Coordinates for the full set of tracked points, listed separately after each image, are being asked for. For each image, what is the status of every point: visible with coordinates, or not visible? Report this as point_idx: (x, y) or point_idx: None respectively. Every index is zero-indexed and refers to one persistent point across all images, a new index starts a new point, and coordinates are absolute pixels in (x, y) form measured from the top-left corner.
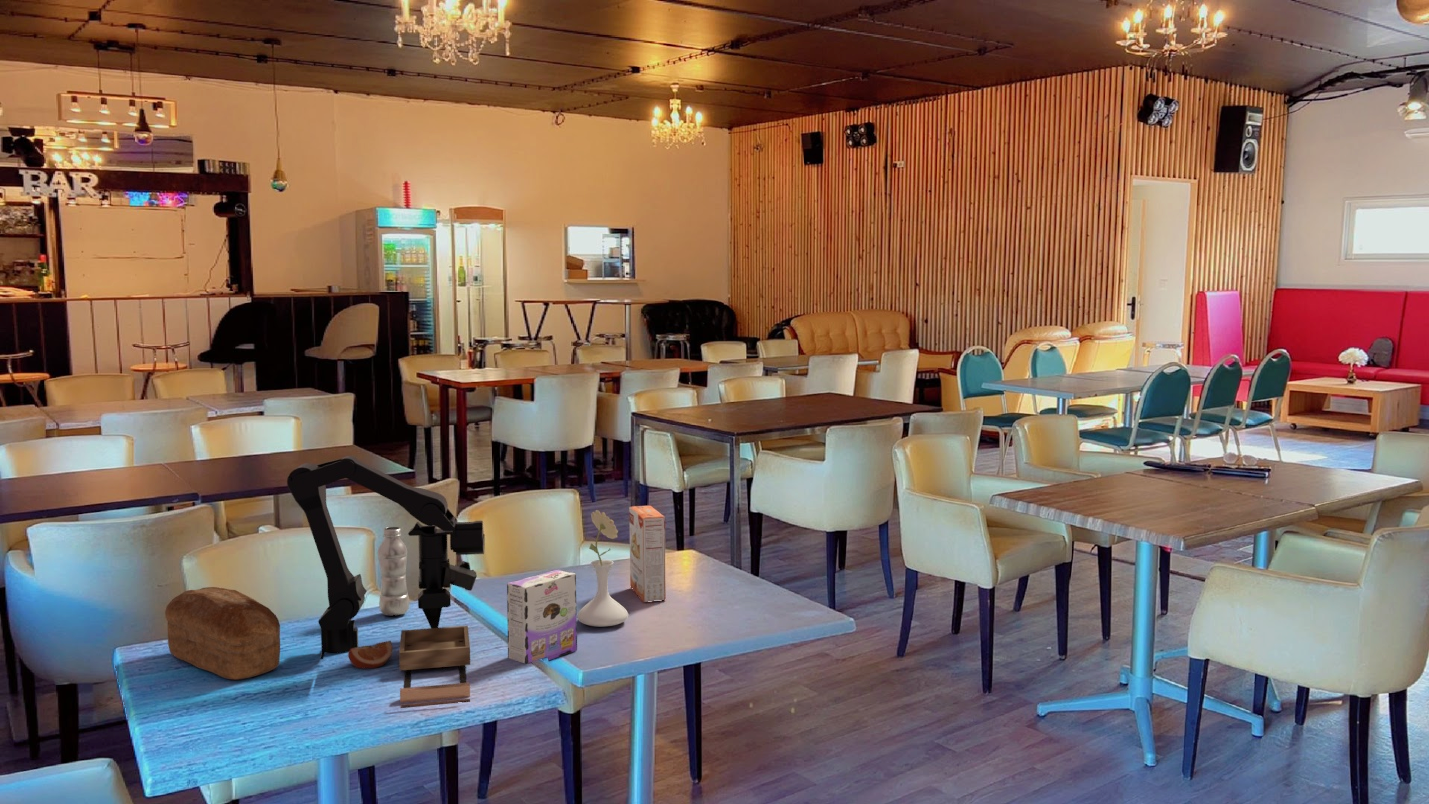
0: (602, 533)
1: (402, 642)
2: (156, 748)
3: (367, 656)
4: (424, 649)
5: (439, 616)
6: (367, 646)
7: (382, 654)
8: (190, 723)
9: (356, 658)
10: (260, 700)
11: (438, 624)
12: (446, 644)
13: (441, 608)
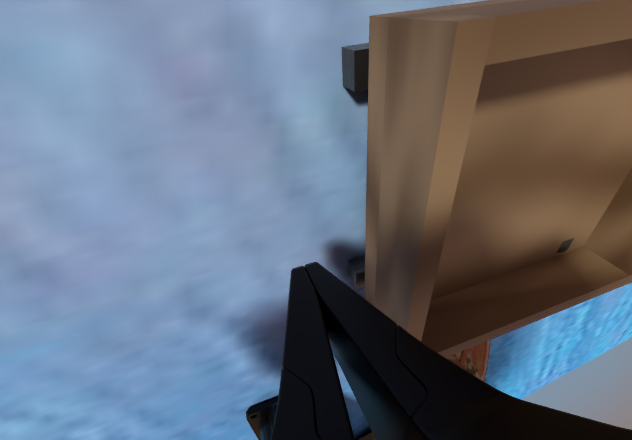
0: None
1: (544, 313)
2: (565, 372)
3: (485, 345)
4: (494, 230)
5: (395, 325)
6: (474, 375)
7: None
8: (522, 385)
9: (488, 356)
10: (494, 373)
11: (340, 282)
12: (477, 153)
13: (484, 385)
